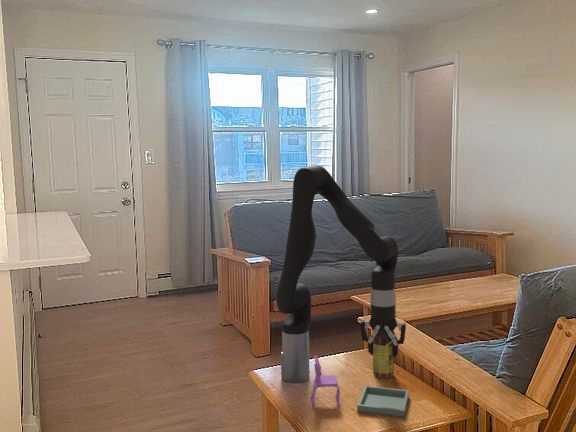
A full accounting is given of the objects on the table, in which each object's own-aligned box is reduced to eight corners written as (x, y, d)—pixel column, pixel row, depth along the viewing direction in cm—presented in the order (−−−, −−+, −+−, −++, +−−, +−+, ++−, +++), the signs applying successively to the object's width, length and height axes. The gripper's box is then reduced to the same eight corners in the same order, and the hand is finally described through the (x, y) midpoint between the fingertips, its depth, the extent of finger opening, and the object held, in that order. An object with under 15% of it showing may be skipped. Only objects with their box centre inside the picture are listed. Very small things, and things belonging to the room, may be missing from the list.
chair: (340, 407, 168) (339, 361, 166) (312, 408, 168) (311, 362, 166) (337, 395, 176) (337, 351, 174) (310, 396, 176) (309, 351, 174)
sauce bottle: (393, 380, 164) (393, 316, 162) (372, 379, 165) (372, 316, 163) (393, 371, 171) (393, 310, 168) (373, 370, 172) (373, 309, 169)
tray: (357, 412, 165) (357, 405, 164) (365, 391, 178) (365, 385, 178) (404, 417, 160) (404, 410, 160) (408, 396, 174) (408, 390, 173)
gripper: (357, 304, 164) (357, 357, 166) (405, 307, 159) (405, 361, 161) (361, 297, 171) (362, 348, 173) (408, 300, 166) (408, 352, 168)
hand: (383, 354), depth 167 cm, fingers closed on sauce bottle, 6 cm apart
